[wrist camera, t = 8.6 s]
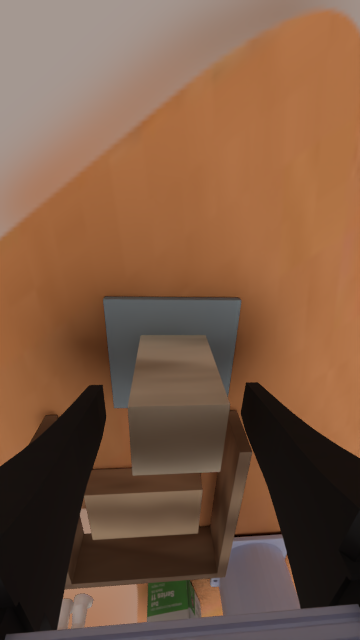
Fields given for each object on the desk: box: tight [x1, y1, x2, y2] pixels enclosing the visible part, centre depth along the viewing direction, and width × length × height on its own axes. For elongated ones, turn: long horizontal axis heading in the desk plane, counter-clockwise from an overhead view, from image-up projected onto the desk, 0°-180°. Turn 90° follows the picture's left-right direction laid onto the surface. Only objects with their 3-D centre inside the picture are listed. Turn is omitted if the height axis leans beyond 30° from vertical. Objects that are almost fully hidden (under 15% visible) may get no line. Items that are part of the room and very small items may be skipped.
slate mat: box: [103, 297, 241, 408], centre depth 16 cm, size 8×8×1 cm
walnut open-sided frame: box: [29, 411, 252, 589], centre depth 20 cm, size 16×14×4 cm
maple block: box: [128, 335, 230, 476], centre depth 13 cm, size 4×4×6 cm
